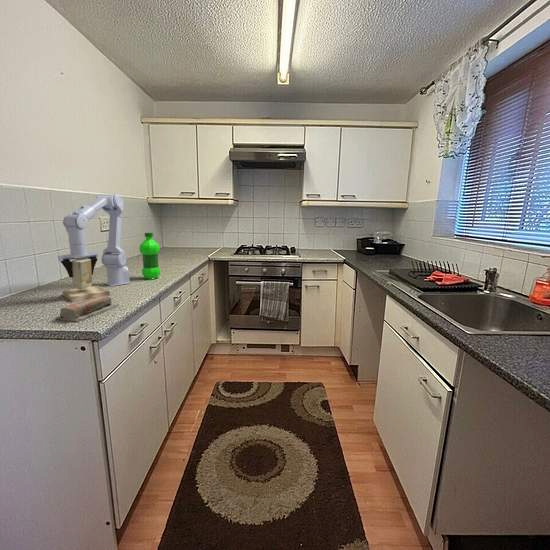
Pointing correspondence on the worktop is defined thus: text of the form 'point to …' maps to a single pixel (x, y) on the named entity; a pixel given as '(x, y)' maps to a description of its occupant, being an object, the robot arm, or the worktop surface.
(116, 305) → the brown rectangular block
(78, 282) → the skincare box
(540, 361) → the worktop surface
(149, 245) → the plastic bottle
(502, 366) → the worktop surface
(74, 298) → the wooden base
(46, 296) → the worktop surface
